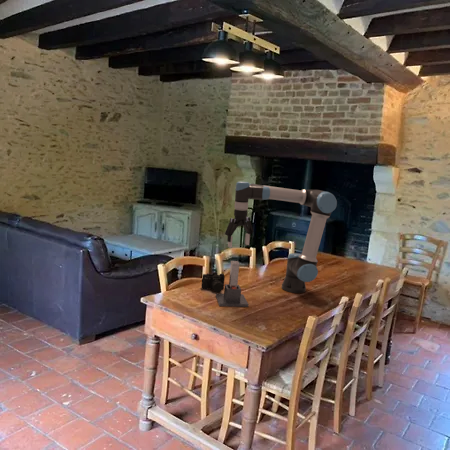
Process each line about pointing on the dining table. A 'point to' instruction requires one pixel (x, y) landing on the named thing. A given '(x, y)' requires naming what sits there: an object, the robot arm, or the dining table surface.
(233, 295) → the stand base
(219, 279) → the camera
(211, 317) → the dining table surface
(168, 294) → the dining table surface
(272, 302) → the dining table surface
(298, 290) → the robot arm
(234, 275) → the column
